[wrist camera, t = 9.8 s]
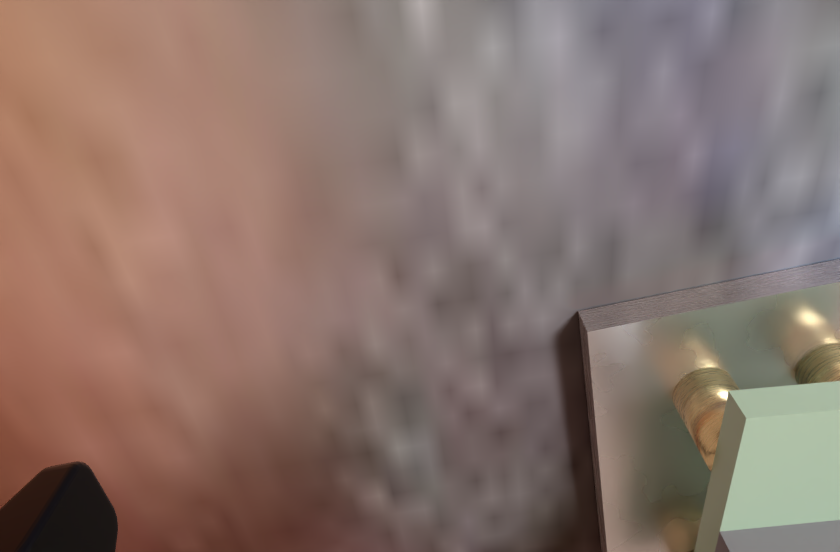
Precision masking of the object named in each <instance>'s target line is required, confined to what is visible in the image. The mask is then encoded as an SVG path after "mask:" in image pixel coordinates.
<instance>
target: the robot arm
mask: <svg viewBox="0 0 840 552" xmlns="http://www.w3.org/2000/svg"><path fill="white" fill-rule="evenodd" d="M117 531H118V524H117V516H116V513H115V510H114V508H113V506H112V504H111V502H110V501H109V499H108V497H107V496H106V494H105V492H104V490H103V489H102V487H101V485H100V483H99V482H98V480H97V478H96V477H95V475H94V473H93V471H92V470H91V469H90V467H89V466H88V465H86V464H85V463H83V462H71V463H66V464H60V465H55V466H50V467H47V468H45V469H43V470H42V471H41V472H39V473H38V474H37V475H36V476H35V477H34V478H33V479H32V480H31V481H30V482H29V483H28V484H27V485H25V486H24V487H23V488H22V489H21V490H20V491H19V492H18V493H17V494H16V495H15V496H14V497H13V498H12V499H10V500H9V501H8V502H7V503H6V504H5V505H4V506H3V507H2V508H1V509H0V552H115V549H116V540H117Z"/></svg>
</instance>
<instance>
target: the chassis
mask: <svg viewBox="0 0 840 552" xmlns="http://www.w3.org/2000/svg"><path fill="white" fill-rule="evenodd" d="M578 316H579V326H580V336H581V347H582V357H583V367H584V378H585V388H586V398H587V409H588V419H589V430H590V440H591V450H592V461H593V471H594V481H595V492H596V502H597V512H598V523H599V533H600V544H601V552H694V550H695V546H696V541H697V536H698V532H699V527H700V522H701V518H702V513H703V508H704V504H705V499H706V494H707V490H708V485H709V480H710V476H711V471H712V466H713V462H714V457H715V452H716V448H717V443H718V438H719V434H720V429H721V424H722V420H723V415H724V410H725V406H726V401H727V396H728V392H729V391H733V390H744V389H755V388H766V387H777V386H788V385H799V384H810V383H822V382H833V381H840V259H837V260H832V261H827V262H822V263H817V264H812V265H807V266H802V267H797V268H792V269H787V270H782V271H777V272H772V273H767V274H762V275H757V276H752V277H747V278H742V279H737V280H732V281H727V282H722V283H717V284H712V285H707V286H702V287H697V288H692V289H687V290H682V291H677V292H672V293H667V294H662V295H657V296H652V297H647V298H642V299H637V300H632V301H627V302H622V303H617V304H612V305H607V306H602V307H597V308H592V309H587V310H582V311H578Z"/></svg>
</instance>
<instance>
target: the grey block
mask: <svg viewBox="0 0 840 552" xmlns="http://www.w3.org/2000/svg"><path fill="white" fill-rule="evenodd" d="M694 552H840V381H833V382H822V383H810V384H799V385H788V386H777V387H766V388H755V389H744V390H733V391H729V392H728V396H727V401H726V406H725V410H724V415H723V420H722V424H721V429H720V434H719V438H718V443H717V448H716V452H715V457H714V462H713V466H712V471H711V476H710V480H709V485H708V490H707V494H706V499H705V504H704V508H703V513H702V518H701V522H700V527H699V532H698V536H697V541H696V546H695V550H694Z"/></svg>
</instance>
